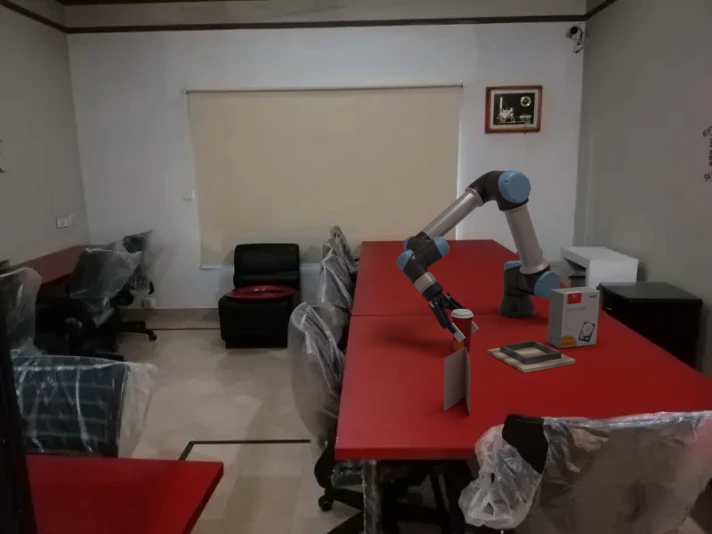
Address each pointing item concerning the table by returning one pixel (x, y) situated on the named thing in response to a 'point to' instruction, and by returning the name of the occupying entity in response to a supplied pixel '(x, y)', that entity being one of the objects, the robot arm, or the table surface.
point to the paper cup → (462, 327)
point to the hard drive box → (573, 316)
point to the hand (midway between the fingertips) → (469, 335)
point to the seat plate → (530, 356)
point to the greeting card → (457, 378)
